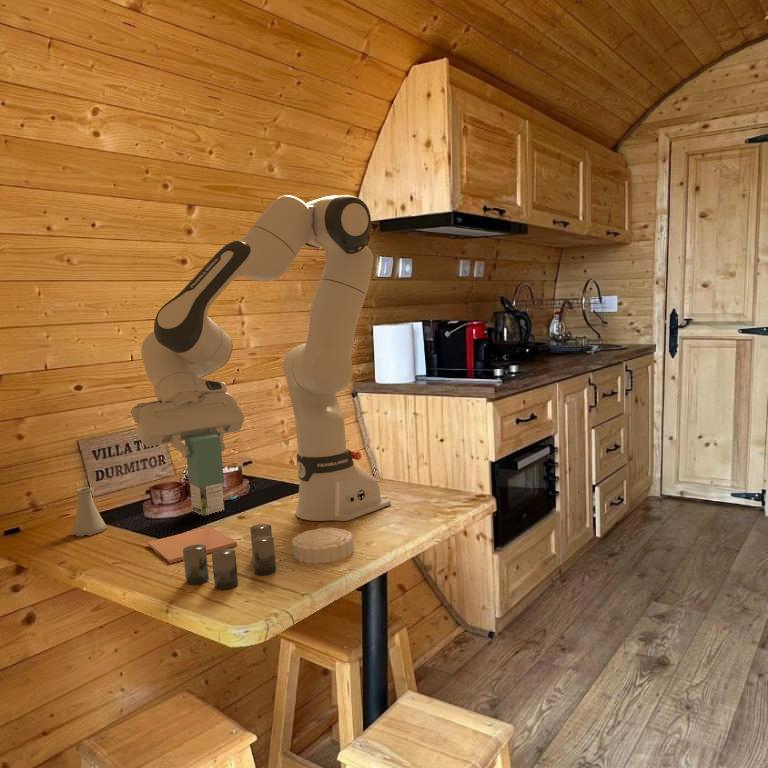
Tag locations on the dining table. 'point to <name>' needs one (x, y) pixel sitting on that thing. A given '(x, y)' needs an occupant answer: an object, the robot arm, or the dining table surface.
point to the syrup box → (207, 499)
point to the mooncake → (322, 545)
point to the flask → (87, 515)
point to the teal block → (205, 460)
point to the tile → (191, 543)
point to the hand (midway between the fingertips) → (204, 453)
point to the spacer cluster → (230, 560)
